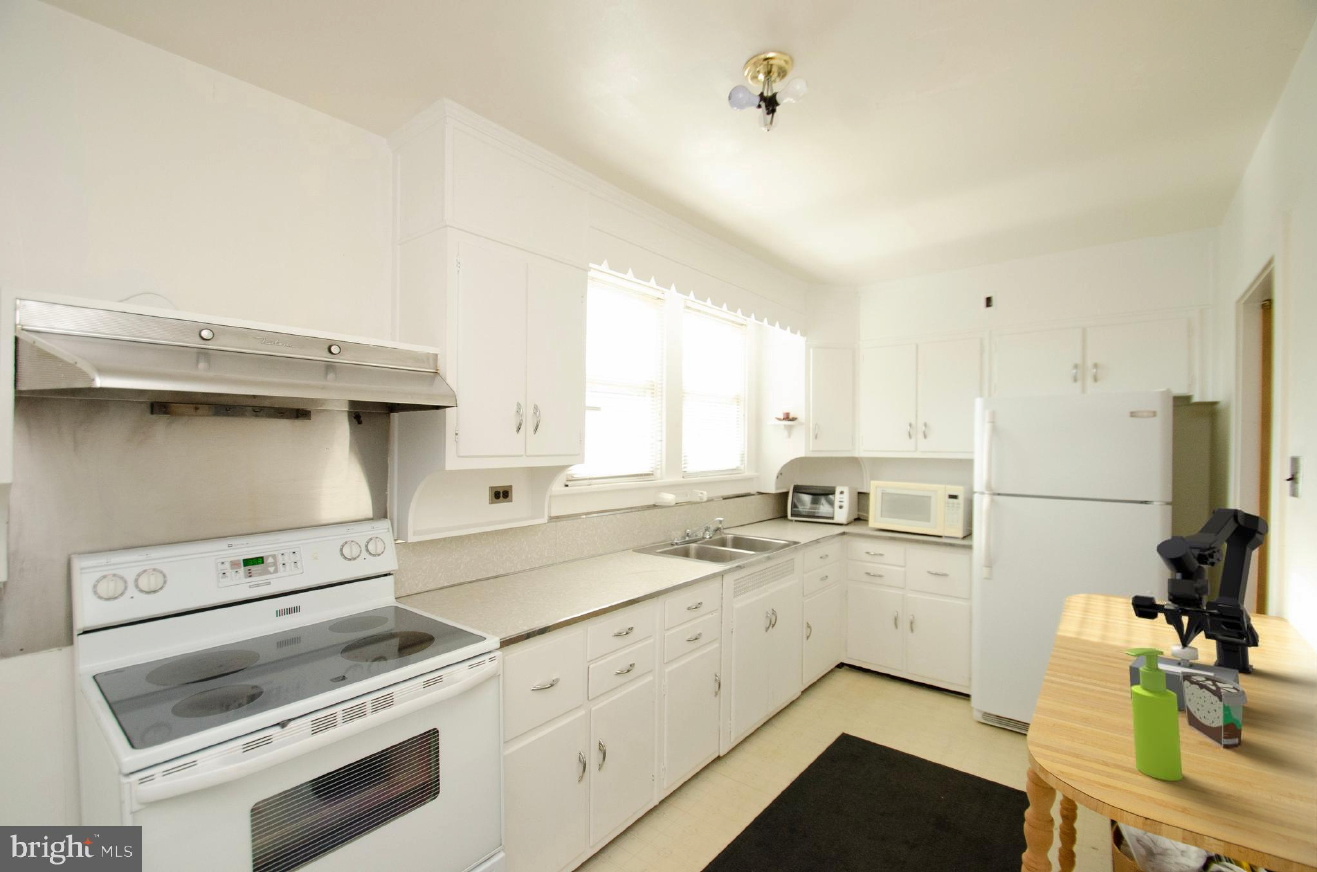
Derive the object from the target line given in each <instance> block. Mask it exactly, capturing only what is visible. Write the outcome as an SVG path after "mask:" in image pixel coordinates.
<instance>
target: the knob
mask: <svg viewBox="0 0 1317 872" xmlns="http://www.w3.org/2000/svg"><path fill="white" fill-rule="evenodd" d="M1170 653H1171V655H1170V656H1172V657H1173V658H1175V659H1178V660H1181V665H1182V666H1187V667H1190V664H1189V662H1190V661H1197V660H1199V649H1198V648H1197V647H1195V646H1192V645H1188V646H1187V647H1185V646H1182V645H1181V644H1175V643H1174V644H1171V645H1170Z"/></svg>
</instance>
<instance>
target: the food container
mask: <svg viewBox="0 0 1317 872" xmlns="http://www.w3.org/2000/svg"><path fill="white" fill-rule="evenodd" d="M1180 681H1182V685H1183V692H1184V700H1185V707H1186V711H1185V713H1186V721H1187V727H1189V728H1191V729H1193V730H1194V731H1196V732H1198V733H1199V734H1200V735H1202V736H1204V737H1205V738H1207V739H1208V740H1210V741H1211V742H1213V743H1214V744H1216V745H1217V746H1219V747H1220V748H1222V749H1235V748H1239V747H1241V746H1242V734H1243V733H1242V731H1243V730H1242V729H1243V728H1242V727H1243V706H1244V705H1246V704H1248V701H1249V700H1248V697H1247V695H1246V691H1245V690H1244V689H1243V687H1242V686H1241V685H1240V683H1239V684H1237V683H1235V682H1232V681H1230V680H1227V679H1224V678H1220V677H1216V676H1212V675H1207V674H1202V673H1195V672H1185V671H1181V674H1180Z"/></svg>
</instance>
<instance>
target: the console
mask: <svg viewBox="0 0 1317 872" xmlns="http://www.w3.org/2000/svg"><path fill="white" fill-rule="evenodd" d="M1189 664H1190V667H1187V666H1182V665H1181V659H1178V658H1171V657H1164V656H1161V655H1158V668H1160V669H1162V670H1164V671H1165V675H1166V689H1167V690H1170V691H1172V692H1174V693H1175V694H1176V695H1177V706H1178V710H1180V711H1184V712H1186V707H1185V700H1184V692H1183V685H1182V681H1180V674H1181V671H1185V672H1195V673H1202V674H1207V675H1212V676H1216V677H1220V678H1224V679H1227V680H1230V681H1232V682H1235V683H1237V684H1239V685H1240V676H1239V674H1240V673H1239V671H1238V670H1235V669H1229V668H1223V667H1217V666H1214V665H1211V664H1204V663H1200V662H1195V661H1189ZM1128 666H1129V683H1130V685H1129V686H1130V688H1131V687H1132V686H1135V685H1140V673H1139V668H1140V667H1143V666H1145V655H1144V656H1139V657H1135V659H1134V660H1133V661H1132V662H1131V663H1130V664H1129V665H1128ZM1130 700H1132V693H1131V692H1130Z"/></svg>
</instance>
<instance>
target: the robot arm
mask: <svg viewBox="0 0 1317 872" xmlns="http://www.w3.org/2000/svg"><path fill="white" fill-rule="evenodd" d="M1211 515H1212V516H1210V517H1209V519H1208V520H1207V521H1206V522H1205V523H1204V525H1202V527H1201V528H1200V529H1199V530H1198V532H1196V533H1195V534H1190V535H1186V536H1183V535H1171V537H1170V538H1167V539H1165V540H1163V541H1162V542H1160V543H1158V544H1157V546H1156V552H1157V554H1158V555H1159V557H1160V559H1161V560H1162V562H1163V564H1164V565H1165V566H1166V568H1167V569H1168V570H1169V571H1170V572H1172V573H1173V575H1172V578H1168V579H1167V601H1168V602H1164V604H1163V603H1157V602H1156V598H1155V597H1154V596H1149V595H1141V594H1140V595H1139V594H1135V595H1134V596H1133V597H1131V606H1132V609H1133V612H1134V614H1135V617H1137V618H1138V619H1144V620H1152V621H1154V620H1156V619H1158V618H1159V614H1161V615H1163V616H1164V618H1165V622H1166V624H1167V625H1168V626H1172V627H1173V628H1174V630H1175V631H1176V633H1177V636H1178V639H1179V641H1180V645H1182V646H1185V647H1187V646H1190V644H1191V643H1192V641H1194V639H1195V638H1196V637H1198V636H1199V634H1201V633H1202V632H1203V635H1204V638H1205V640H1211V641H1215V649H1216V652H1215V653H1216V660H1215V661H1214V663H1213V666H1217V667H1223V668H1229V669H1235V670H1238V672H1240V673H1247V674H1252V670H1253V668H1254V664H1250V658H1249V657H1250V656H1249V648H1259V647H1260V646H1259V645H1260V644H1259V642H1260V639H1259V638H1260V635H1259V634H1258V632H1257V631H1256V629H1255V627H1254V625H1253V624H1252V623H1251V622H1252V618H1251V616H1250V614H1249V613H1248V611H1247V609H1246V608H1245V607H1244V604H1245V598H1246V594H1247V587H1248V581H1249V574H1250V567H1251V562H1252V556H1253V552H1254V551H1255V550H1256V549H1258V548H1259V547H1260V546H1262V545H1263V543H1264V540H1265V537H1266V535H1268V533H1269V525H1268V522H1267V520H1265V519H1263V518H1262V517H1261V516H1259V515H1255V514H1251V513H1247V512H1245V511H1243V510H1241V509H1238V508H1228V507H1227V508H1226V507H1225V508H1222V507H1218V508H1214V509H1213V510H1212V514H1211ZM1224 543H1225V544H1226V548H1225V554H1223V550H1222V549H1221V547H1223V544H1224ZM1222 559H1223V565H1222V569H1221V570H1222V571H1221V576H1220V582H1219V586H1218V587H1219V588H1218V592H1217V593H1218V594H1217V598H1215V599H1214V600H1208V601H1206V596H1207V597H1209V596H1211V585H1210V584H1211V583H1210V580H1209V579H1208V578H1207V576H1208V575H1207V574H1208V572H1207V569H1206V568H1205V567H1210V568H1211V567H1212V568H1215V567H1216V566H1218V565H1219V563H1221V562H1222ZM1183 617H1187V623H1186V627H1185V624H1184V620H1183Z"/></svg>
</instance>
